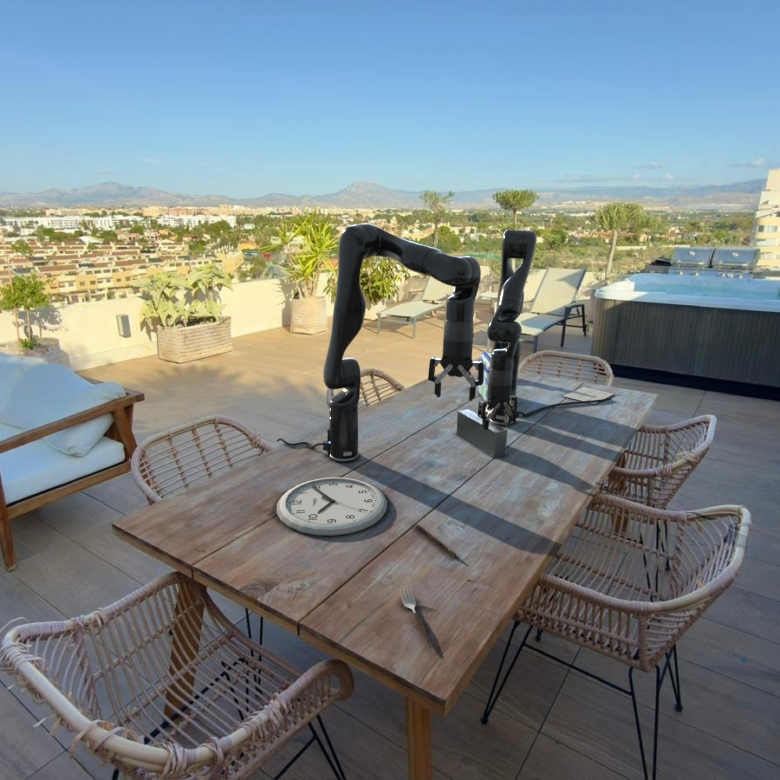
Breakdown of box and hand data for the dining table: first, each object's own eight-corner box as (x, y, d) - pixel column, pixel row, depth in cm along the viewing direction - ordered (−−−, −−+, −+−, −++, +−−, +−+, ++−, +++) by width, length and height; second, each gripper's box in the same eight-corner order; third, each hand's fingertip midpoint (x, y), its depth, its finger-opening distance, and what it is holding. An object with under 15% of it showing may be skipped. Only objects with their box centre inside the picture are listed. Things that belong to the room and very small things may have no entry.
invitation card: (583, 386, 254) (614, 393, 243) (583, 387, 254) (614, 394, 244) (562, 395, 239) (594, 403, 229) (562, 396, 239) (594, 404, 229)
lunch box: (475, 390, 246) (478, 346, 240) (498, 390, 246) (501, 347, 240) (484, 408, 221) (487, 360, 215) (509, 409, 221) (513, 360, 215)
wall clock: (392, 527, 129) (268, 531, 127) (391, 533, 130) (269, 537, 127) (383, 473, 158) (282, 475, 155) (383, 478, 158) (282, 480, 156)
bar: (505, 455, 176) (507, 430, 173) (494, 457, 174) (496, 432, 171) (466, 432, 196) (468, 409, 193) (456, 434, 194) (457, 410, 191)
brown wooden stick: (415, 527, 132) (415, 524, 132) (417, 527, 133) (417, 523, 132) (454, 558, 121) (454, 554, 120) (455, 557, 121) (456, 553, 121)
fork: (423, 651, 94) (424, 642, 93) (398, 593, 109) (398, 585, 108) (437, 648, 95) (437, 639, 94) (410, 591, 109) (411, 583, 109)
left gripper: (427, 338, 131) (425, 399, 136) (484, 342, 127) (480, 405, 132) (433, 332, 138) (430, 391, 143) (487, 336, 134) (483, 396, 139)
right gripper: (510, 375, 176) (506, 420, 181) (475, 380, 170) (471, 426, 175) (524, 382, 170) (520, 428, 175) (488, 387, 164) (485, 435, 169)
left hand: (454, 398), depth 138 cm, fingers open, 8 cm apart
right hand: (496, 427), depth 175 cm, fingers open, 8 cm apart
